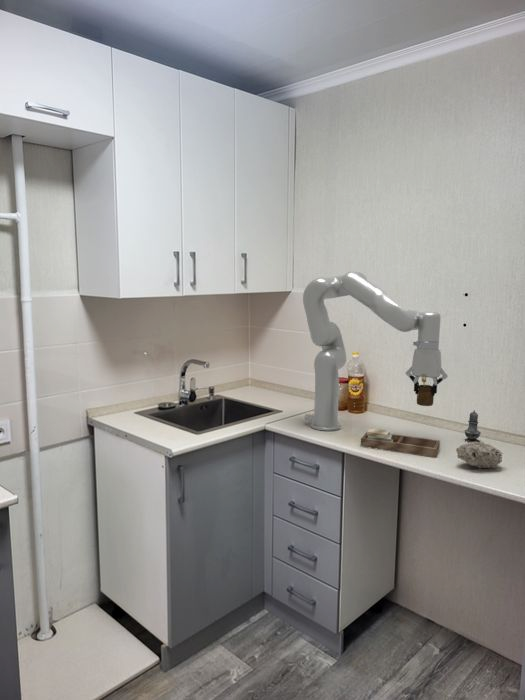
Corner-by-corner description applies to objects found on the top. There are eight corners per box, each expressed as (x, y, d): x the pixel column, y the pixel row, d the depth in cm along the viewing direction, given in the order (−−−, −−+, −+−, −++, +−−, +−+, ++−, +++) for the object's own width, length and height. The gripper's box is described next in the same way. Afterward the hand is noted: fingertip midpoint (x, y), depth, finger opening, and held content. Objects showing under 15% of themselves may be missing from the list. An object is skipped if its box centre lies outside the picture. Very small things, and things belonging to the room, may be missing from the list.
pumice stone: (473, 475, 168) (475, 450, 167) (446, 462, 179) (448, 439, 178) (506, 469, 173) (509, 445, 172) (479, 458, 184) (481, 435, 183)
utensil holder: (435, 404, 201) (437, 372, 200) (430, 407, 196) (431, 374, 194) (419, 401, 204) (421, 370, 203) (414, 405, 199) (415, 373, 198)
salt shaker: (481, 444, 200) (484, 412, 198) (464, 442, 201) (467, 411, 199) (478, 439, 206) (481, 408, 204) (462, 438, 207) (464, 407, 205)
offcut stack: (364, 446, 195) (364, 431, 194) (368, 441, 201) (369, 427, 200) (389, 450, 191) (390, 435, 190) (393, 445, 197) (394, 430, 197)
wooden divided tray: (360, 446, 194) (360, 438, 194) (367, 438, 204) (368, 430, 204) (435, 457, 183) (436, 449, 183) (439, 448, 193) (440, 440, 193)
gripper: (402, 345, 197) (399, 393, 200) (451, 348, 190) (448, 398, 193) (405, 343, 204) (403, 390, 207) (453, 346, 197) (450, 394, 200)
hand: (425, 393), depth 200 cm, fingers closed on utensil holder, 5 cm apart
